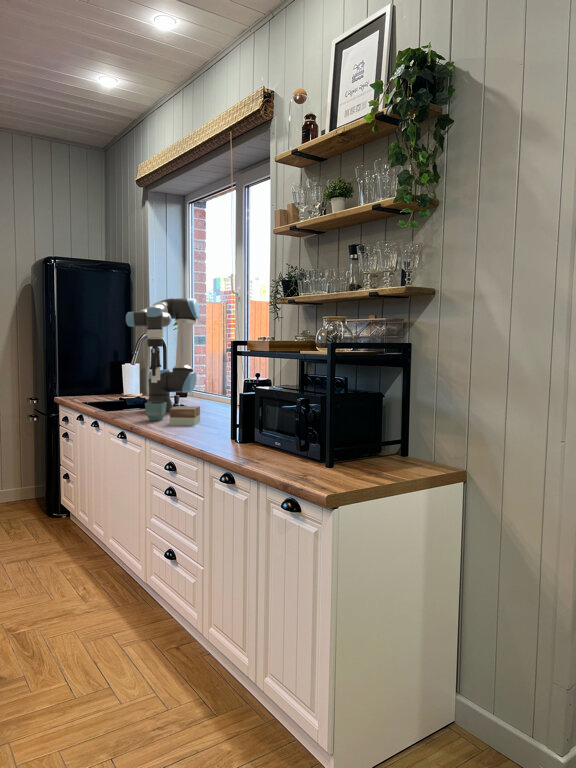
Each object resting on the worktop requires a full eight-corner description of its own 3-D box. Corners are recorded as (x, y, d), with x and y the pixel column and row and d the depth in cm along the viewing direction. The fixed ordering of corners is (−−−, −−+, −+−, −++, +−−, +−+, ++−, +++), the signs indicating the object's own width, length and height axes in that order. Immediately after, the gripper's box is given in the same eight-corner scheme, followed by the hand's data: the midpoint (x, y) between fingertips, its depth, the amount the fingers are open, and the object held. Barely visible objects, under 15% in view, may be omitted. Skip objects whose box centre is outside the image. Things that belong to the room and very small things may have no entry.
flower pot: (167, 419, 299) (167, 401, 298) (161, 421, 290) (161, 403, 289) (150, 418, 300) (150, 401, 299) (144, 421, 291) (144, 403, 290)
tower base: (176, 422, 292) (176, 414, 292) (200, 422, 291) (200, 414, 291) (169, 425, 280) (169, 417, 280) (194, 426, 279) (194, 417, 279)
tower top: (176, 414, 292) (176, 406, 291) (200, 414, 291) (200, 406, 291) (169, 417, 280) (169, 409, 280) (194, 417, 279) (194, 409, 279)
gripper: (150, 338, 301) (151, 379, 303) (143, 339, 276) (144, 383, 278) (165, 338, 302) (166, 379, 304) (160, 339, 277) (160, 383, 279)
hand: (155, 381), depth 291 cm, fingers open, 13 cm apart
